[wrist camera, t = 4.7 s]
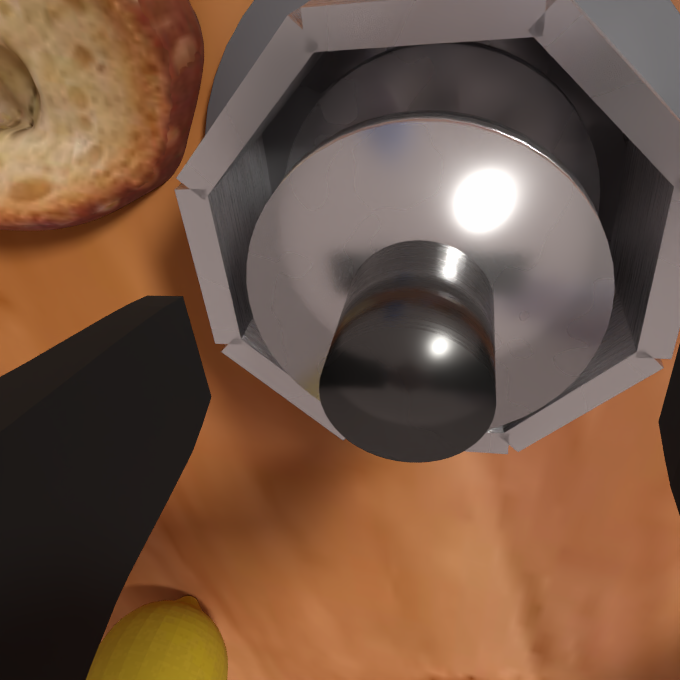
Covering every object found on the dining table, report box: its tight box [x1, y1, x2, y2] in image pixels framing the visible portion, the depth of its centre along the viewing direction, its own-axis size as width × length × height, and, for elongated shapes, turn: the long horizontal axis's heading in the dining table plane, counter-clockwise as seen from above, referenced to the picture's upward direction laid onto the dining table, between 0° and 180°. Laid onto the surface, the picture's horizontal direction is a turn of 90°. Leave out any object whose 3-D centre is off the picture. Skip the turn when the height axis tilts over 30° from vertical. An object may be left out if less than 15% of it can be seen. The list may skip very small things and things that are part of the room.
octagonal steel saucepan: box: [175, 0, 680, 454], centre depth 12 cm, size 9×11×4 cm
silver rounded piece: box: [246, 41, 615, 462], centre depth 11 cm, size 7×7×7 cm
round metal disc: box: [205, 0, 680, 135], centre depth 14 cm, size 11×11×1 cm
